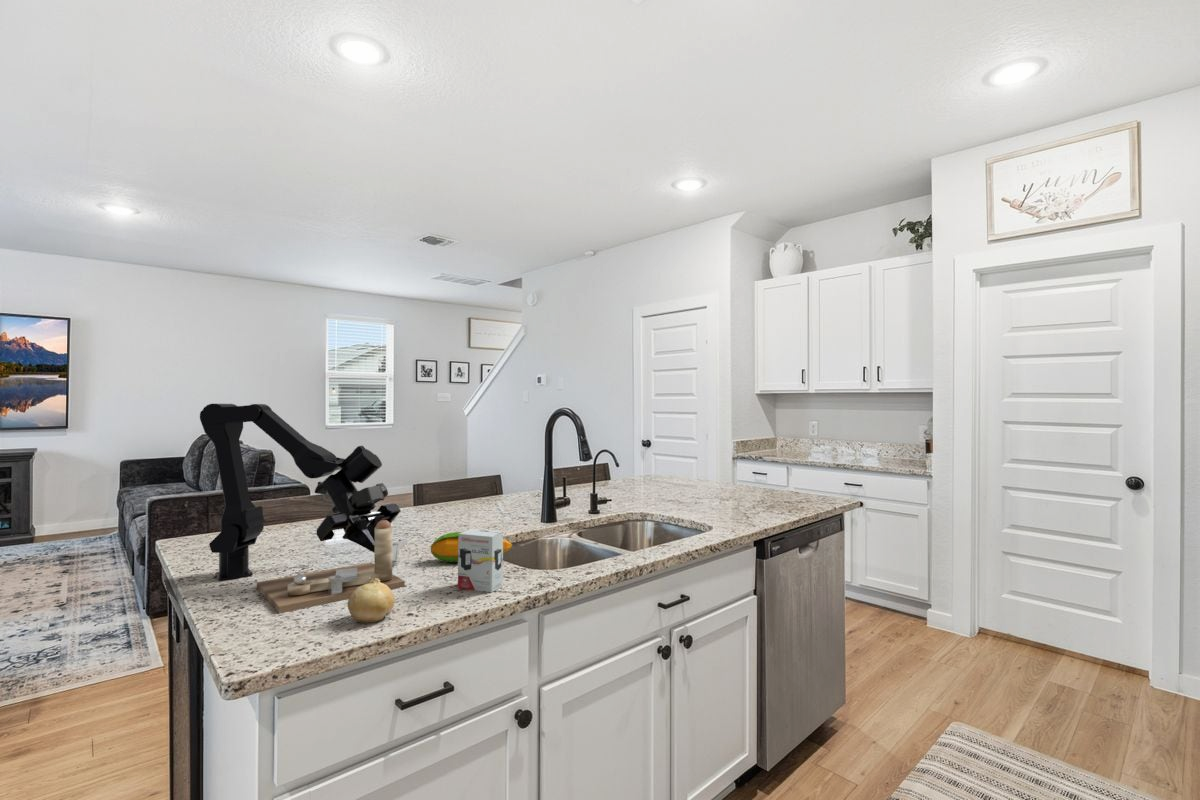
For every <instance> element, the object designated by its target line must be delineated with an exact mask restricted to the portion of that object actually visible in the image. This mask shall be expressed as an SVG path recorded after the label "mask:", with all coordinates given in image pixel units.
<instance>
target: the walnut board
mask: <svg viewBox="0 0 1200 800" xmlns="http://www.w3.org/2000/svg"><path fill="white" fill-rule="evenodd" d="M374 564H375V563H373V562H372V561H371V562H363V563H359V564H354V565H346V566H341V567H336V568H330V569H325V570H319V571H313V572H309V573H308V572H307V573H302V574H301V573H300V574H296V575H291V576H285V577H280V578H279V577H278V578H273V579H269V580H263V581H257V582H256V589H257V590H258V591H259V593H261V595H263V597H264V598H265V599H266V600H267V601H268V603H270V604H271V606H272V607H273V608H274V609H275V610H276V611H277V612H278V614H282V613H287V612H292V611H296V610H300V609H306V608H311V607H315V606H320V604H321V605H324V604H330V603H334V602H338V601H339V602H340V601H343V600H349V597H350V595H351V594H352V593H353V591H354V590H356V589H357V588H358V587H360V586H362V585H364V584H360V585H353V586H347V587H342V593H340V594H335V595H331V594H329V589H328V590H322V591H315V592H310V593H307V594H303V595H288V585H289V584H291V583H294V577H297V576H306V581H312V580H319V579H325V578H329V577H331V576H335V575H336V571H337V570H339V569H349V568H357V574H359V573H366V572H372V571H374ZM380 583H383V584H385V585H387V586H388V587H389V588H390V589H391V590H394V589H400V587H401V588H405V585H406V581H405V580H404V579H402V578H400V577H399V576H396V575H395V574H393V573H392V579H390V580H387V581H380ZM366 584H368V583H366Z"/></svg>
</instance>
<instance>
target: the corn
mask: <svg viewBox="0 0 1200 800" xmlns="http://www.w3.org/2000/svg"><path fill="white" fill-rule="evenodd" d="M462 532H463V531H459V532H458V531H456V532H447V533H446V534H445V533H444V534H442V535H440V536H439V537H438V538H436V539H435V540H434V542H432V544H431V545H430V553H431V554H432V556H433V558H435V559H438V560H439V561H441V562H446V563H458V534H459V533H462ZM512 546H513V543H511V542H509V541H507V540H506V539H504V538H503V553H506V552H508V551H509V550H510V549H512Z"/></svg>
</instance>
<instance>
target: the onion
mask: <svg viewBox="0 0 1200 800" xmlns="http://www.w3.org/2000/svg"><path fill="white" fill-rule="evenodd" d="M369 580H371V578H370V577H369ZM394 606H395V595H394V593H393V591H392V589H390V588H389V587H388V586H387V585H385V584H383V583H380V580H379V579H378V578H374V579H372V580H371V581H370V582H369V583H368V584H364V585H362V586H360V587H358V588H357V589H356V590H354V591H353V593H352V594H351V595H350V597H349V599H347V609H348V611H349V614H350V616H351V617H352V618H353V619H354V621H355V622H356V623H361V622H364V623H363V624H365V623H366V622H369V623H374V622H380V621H381V620H384V617H387V616H389V615H390V614H391V612H392V611H393V609H394ZM366 624H367V623H366Z"/></svg>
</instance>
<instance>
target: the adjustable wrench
mask: <svg viewBox="0 0 1200 800" xmlns="http://www.w3.org/2000/svg"><path fill="white" fill-rule="evenodd" d="M407 544H408V545H409V541H408V539H405V538H398V541H394V542H393V541H392V568H395V567H394V566H396V567H398V566H399V557H398V556H399V554H400V550H401V549H400V548H401V547H403V546H405V545H407ZM408 545H407V546H408ZM399 549H400V550H399ZM397 565H398V566H397Z"/></svg>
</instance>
